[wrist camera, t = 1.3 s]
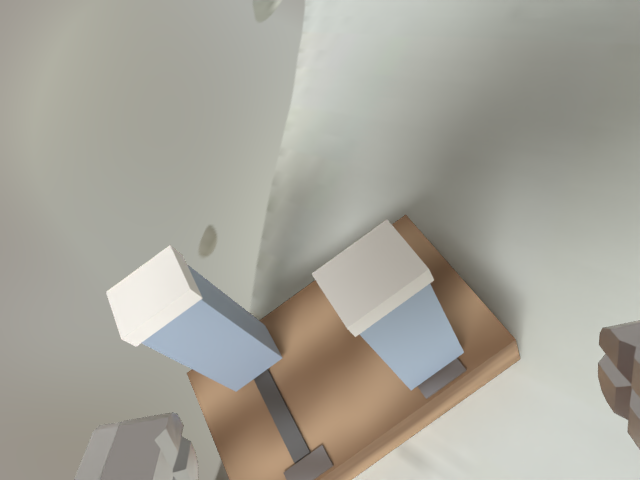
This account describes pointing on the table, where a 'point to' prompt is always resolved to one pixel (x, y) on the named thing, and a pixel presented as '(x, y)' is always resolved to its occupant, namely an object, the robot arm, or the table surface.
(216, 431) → the wooden slider track board
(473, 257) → the table surface
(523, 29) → the table surface
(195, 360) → the slider
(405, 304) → the slider
